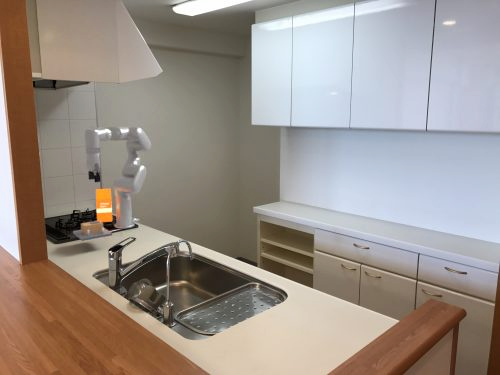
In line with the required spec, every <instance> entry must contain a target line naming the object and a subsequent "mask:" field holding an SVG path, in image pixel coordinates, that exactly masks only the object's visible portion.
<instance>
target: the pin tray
mask: <svg viewBox="0 0 500 375" xmlns="http://www.w3.org/2000/svg"><path fill="white" fill-rule="evenodd" d="M72 233H73V235H74V236H76V237H77V238H78V239H79V240H80V241H82V242H83V241H84V242H85V241H91V240H95V239H99V238H105V237H111V236H113V232H111V231H110V230H108V229H107V228H105V227H104V226H103V228H101V232H100V233H94V234H89V230H87V235H84V234H83V233H82V232H81V229H78V230H73V231H72Z"/></svg>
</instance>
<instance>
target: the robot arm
mask: <svg viewBox="0 0 500 375" xmlns="http://www.w3.org/2000/svg"><path fill="white" fill-rule="evenodd" d="M108 141H115V142H116V141H125V148H126V151H127V159H126V161H125V163H124V165H123V166H122V167H123V168H122V170H121V176H122V177H117V178H116V179H114V181H113V184H112V187H113V188H112V189H113V192H114V197H115V198H114V200H115V214H116V215H115V217H116V219H115V220H116V223H114V225H113V227H115V228H116V229H122V230H123V229H129V228H130V229H131V228H133V227H134V226H135V223H136V222H140V218H134V217H133V216H132V213H133V212H132V197H131V195H135V194H138V193H139V192H140V191H141V189H142V188H143V184H144V183H145V181H146V180H145V179H146V177H147V167H146V166H145V165H143V164H141V162H142V160H141V159H142V158H141V156H140V154H139V152H143V153H145V152H150V150H151V149H152V142H151V140H150V139H149V137H148V135H147V133H146V132H145V131H144V130H143V128H141V127H140V126H102V127H99V126H97V127H95V126H94V127H90V128H86V129H85V130H84V143H85V154H86V156H85V157H86V159H85V160H86V161H85V162H86V164H85V165H86V170H87V172H88V174H87V175H88V180H89V181H91V180H94V183H101V160H100V154H101V147H100V145H101V144H100V142H108ZM130 194H131V195H130Z"/></svg>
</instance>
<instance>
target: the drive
mask: <svg viewBox="0 0 500 375" xmlns="http://www.w3.org/2000/svg"><path fill="white" fill-rule="evenodd" d="M103 227H104V222H101V221H97V220H95V221H89V222H83V223H80V230H81V232H82V233H83V234H84V235H87V230H89V234H94V233H100V232H101V228H103Z"/></svg>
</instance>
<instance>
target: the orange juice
mask: <svg viewBox="0 0 500 375" xmlns="http://www.w3.org/2000/svg"><path fill="white" fill-rule="evenodd" d="M111 190H112V189H111V188H101V189H99V188H98V189H97V188H96V189H95V203H96V204H95V205H96V221H101V222H102V223H106V222H107V223H108V222H113V206H112V204H113V203H112V191H111Z"/></svg>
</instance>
